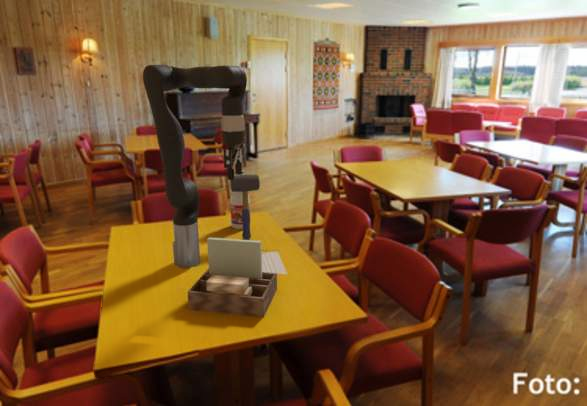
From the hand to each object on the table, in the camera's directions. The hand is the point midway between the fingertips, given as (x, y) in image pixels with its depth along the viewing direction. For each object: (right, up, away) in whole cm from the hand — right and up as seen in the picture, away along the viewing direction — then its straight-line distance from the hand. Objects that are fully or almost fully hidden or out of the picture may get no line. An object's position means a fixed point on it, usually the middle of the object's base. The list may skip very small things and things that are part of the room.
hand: (235, 177), depth 148 cm
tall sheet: (0, -38, -1) cm, 38 cm away
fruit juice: (-6, -21, +67) cm, 71 cm away
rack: (+1, -41, -6) cm, 42 cm away
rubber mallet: (-1, -26, +50) cm, 56 cm away
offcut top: (-1, -35, -13) cm, 38 cm away
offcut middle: (0, -38, -12) cm, 40 cm away
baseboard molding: (+10, -35, +18) cm, 41 cm away
